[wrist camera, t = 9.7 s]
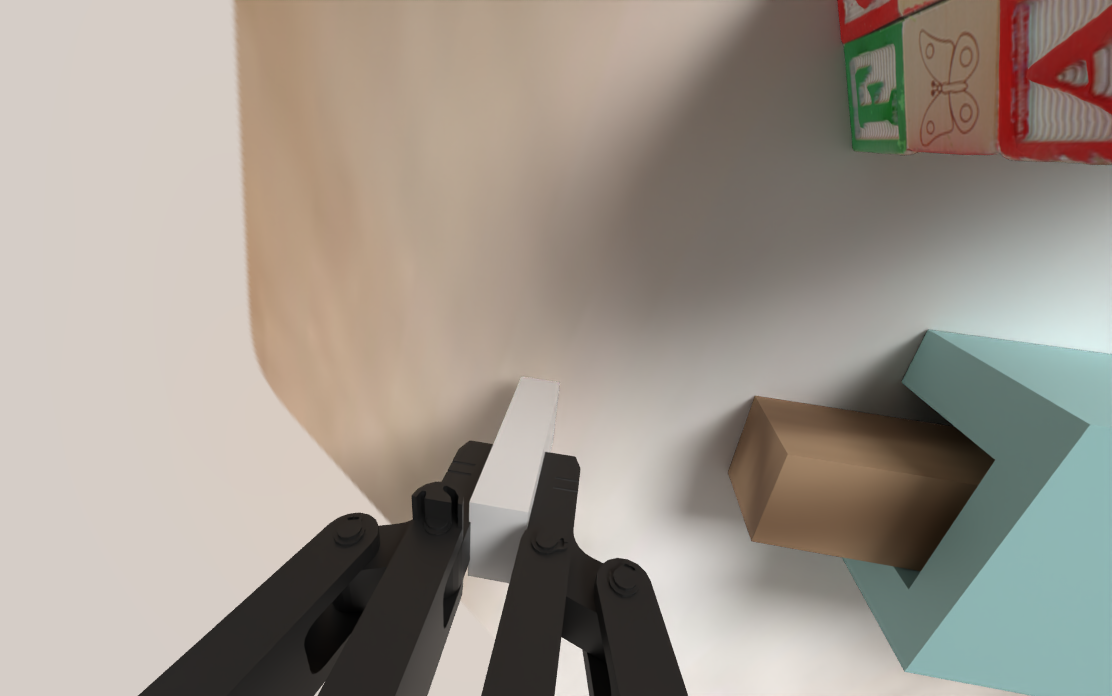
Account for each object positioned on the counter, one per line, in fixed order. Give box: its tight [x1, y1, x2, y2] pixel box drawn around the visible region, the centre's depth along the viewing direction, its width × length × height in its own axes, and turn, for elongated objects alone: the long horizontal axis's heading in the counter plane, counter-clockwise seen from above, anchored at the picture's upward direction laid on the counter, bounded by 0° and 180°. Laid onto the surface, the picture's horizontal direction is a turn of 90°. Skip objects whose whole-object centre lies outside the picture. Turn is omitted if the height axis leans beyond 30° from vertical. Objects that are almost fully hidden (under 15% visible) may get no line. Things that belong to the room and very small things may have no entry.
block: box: [842, 330, 1112, 696], centre depth 15 cm, size 10×8×6 cm
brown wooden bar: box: [728, 396, 995, 571], centre depth 17 cm, size 4×10×4 cm, turn 84°
